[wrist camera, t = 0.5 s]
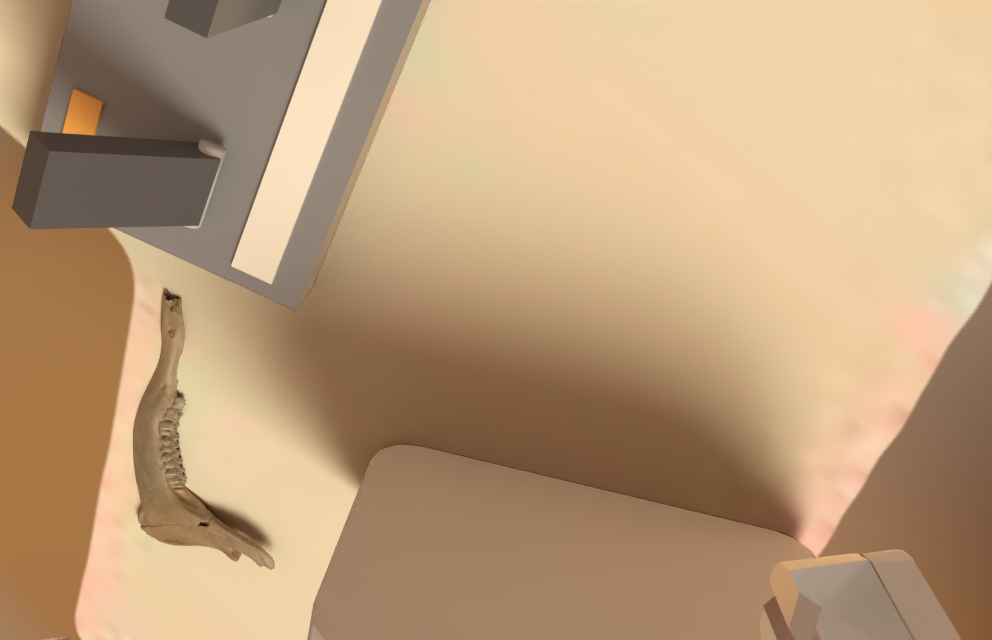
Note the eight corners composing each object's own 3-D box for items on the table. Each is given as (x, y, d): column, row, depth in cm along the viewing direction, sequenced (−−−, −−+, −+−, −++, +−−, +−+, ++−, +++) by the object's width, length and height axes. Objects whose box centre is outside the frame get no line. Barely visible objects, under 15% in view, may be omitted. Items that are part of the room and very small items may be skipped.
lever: (215, 138, 49) (31, 124, 41) (234, 155, 48) (50, 145, 40) (190, 212, 51) (10, 213, 43) (208, 230, 50) (28, 234, 42)
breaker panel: (159, -227, 44) (127, -237, 41) (460, -74, 46) (451, -72, 43) (57, 172, 53) (24, 189, 50) (311, 289, 55) (294, 312, 52)
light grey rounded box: (361, 528, 62) (279, 752, 46) (379, 434, 59) (298, 640, 43) (773, 626, 62) (837, 885, 46) (814, 538, 59) (898, 782, 43)
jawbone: (171, 562, 66) (157, 581, 64) (57, 304, 59) (37, 317, 57) (285, 553, 64) (273, 572, 62) (182, 283, 56) (165, 296, 55)
